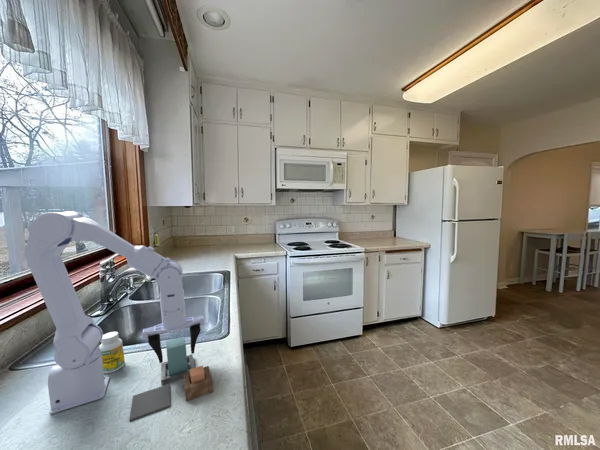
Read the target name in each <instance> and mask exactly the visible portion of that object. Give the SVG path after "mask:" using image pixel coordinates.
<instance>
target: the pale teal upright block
mask: <svg viewBox="0 0 600 450" xmlns="http://www.w3.org/2000/svg"><path fill="white" fill-rule="evenodd" d="M186 345H187V344H186V337H185V336H182V337H177V338H174V339H170V340H166V358H167V361H168V367H167V369H168V376H170V375H173V374H176V373H179V372H182V371H186V370H189V368H188V361H187V356H188V354H187V346H186Z"/></svg>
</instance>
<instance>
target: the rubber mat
mask: <svg viewBox="0 0 600 450" xmlns="http://www.w3.org/2000/svg"><path fill="white" fill-rule="evenodd" d="M170 386H171V385H170V383H167V384H164V385H161V386H160V387H156V388H154V389H153V388H152V389H149V390H147V391H143V392H141V393H137V394H134V395H133V396H132V402H131V406H130V407H131V408H130V413H129V414H130V415H129V419H128V420H129V422H132V421H135V420H138V419H140V418H143V417H146V416H148V415H151V414H154V413H157V412H160V411H162V410H165V409H167V408H170V407H171V394H170V393H171V391H170V389H171V387H170Z"/></svg>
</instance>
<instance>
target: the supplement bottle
mask: <svg viewBox="0 0 600 450" xmlns="http://www.w3.org/2000/svg"><path fill="white" fill-rule="evenodd" d="M119 335H120V334H119V332H118V331H110V332H107V333H103V337H102V340H101V341H100V343H101V344H100V343H99V348H100V349H101V354H102V363H103V372H104V374H110V373H114V372H116V371H119V370H120V369H121V368H123V366H125V363H126V362H125V361H126V360H125V352H124V345H123V344H124V343H123V339H122V338H120V336H119Z"/></svg>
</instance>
